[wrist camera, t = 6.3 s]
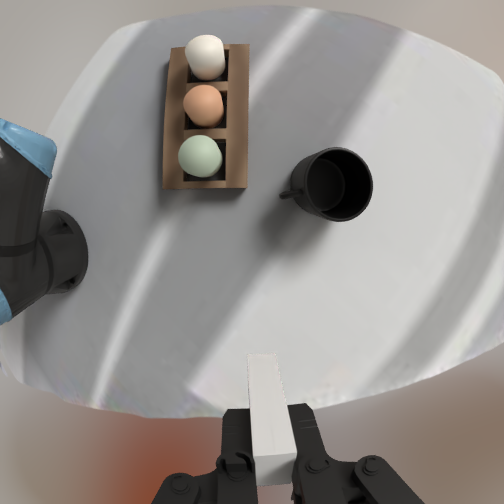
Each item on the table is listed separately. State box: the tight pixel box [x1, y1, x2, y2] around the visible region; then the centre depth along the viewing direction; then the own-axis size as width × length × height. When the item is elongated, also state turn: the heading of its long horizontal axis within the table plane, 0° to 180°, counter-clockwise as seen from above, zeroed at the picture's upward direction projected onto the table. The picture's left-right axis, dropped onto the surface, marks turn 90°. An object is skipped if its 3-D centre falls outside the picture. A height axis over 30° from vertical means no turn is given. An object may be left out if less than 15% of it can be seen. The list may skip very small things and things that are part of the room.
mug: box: [279, 147, 373, 222], centre depth 36 cm, size 9×12×9 cm
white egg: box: [185, 35, 225, 81], centre depth 30 cm, size 5×5×6 cm
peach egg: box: [183, 85, 224, 129], centre depth 33 cm, size 5×5×6 cm
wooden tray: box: [163, 44, 249, 189], centre depth 35 cm, size 12×23×3 cm, turn 179°
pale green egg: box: [178, 135, 222, 178], centre depth 33 cm, size 5×5×6 cm
